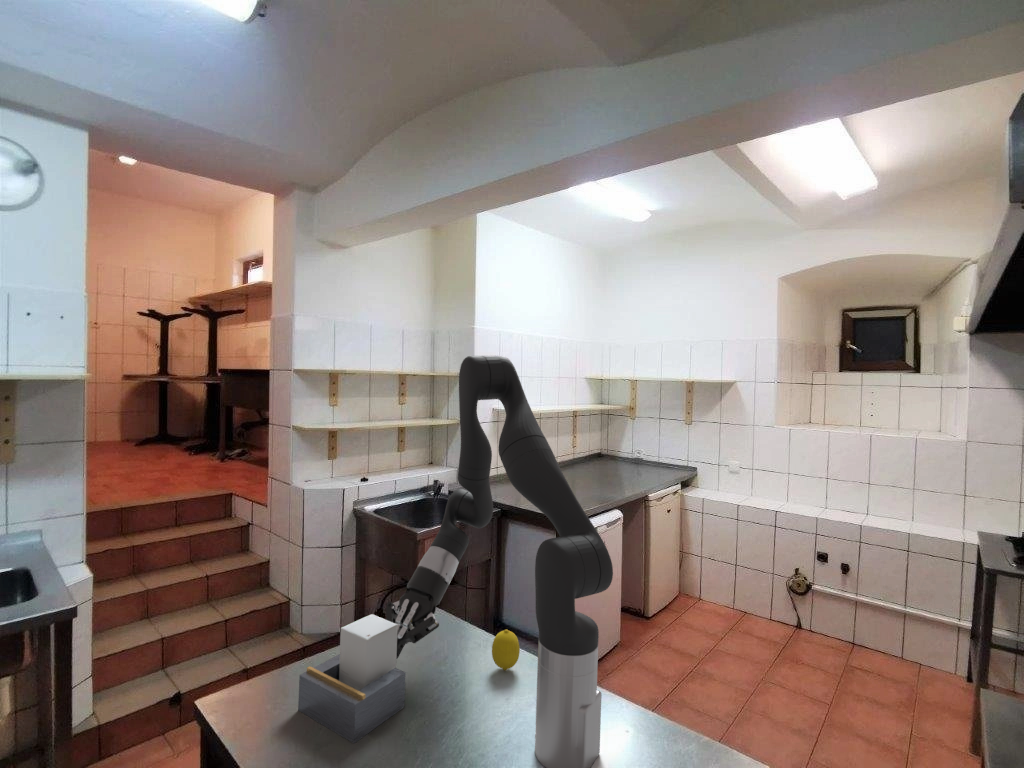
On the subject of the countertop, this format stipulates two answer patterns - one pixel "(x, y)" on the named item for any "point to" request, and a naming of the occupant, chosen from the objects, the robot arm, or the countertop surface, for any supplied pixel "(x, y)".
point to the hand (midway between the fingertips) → (387, 659)
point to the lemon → (505, 649)
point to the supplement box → (367, 650)
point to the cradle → (349, 700)
